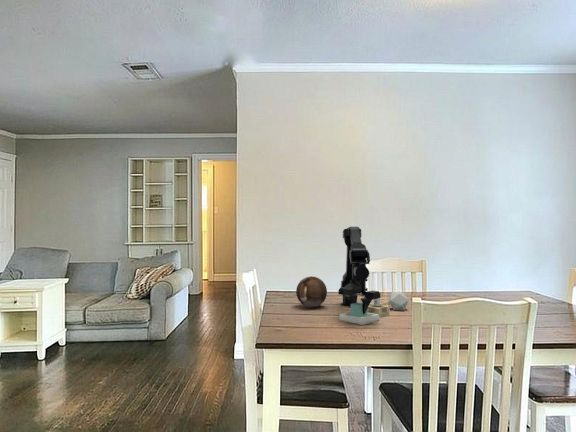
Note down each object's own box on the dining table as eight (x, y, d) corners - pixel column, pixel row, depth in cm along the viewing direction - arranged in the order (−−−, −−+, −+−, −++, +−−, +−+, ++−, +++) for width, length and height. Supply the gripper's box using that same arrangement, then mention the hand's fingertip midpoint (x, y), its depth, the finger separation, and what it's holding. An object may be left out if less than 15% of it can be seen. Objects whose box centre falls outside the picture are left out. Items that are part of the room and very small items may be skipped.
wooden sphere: (314, 303, 241) (314, 273, 240) (333, 307, 228) (333, 277, 228) (290, 306, 232) (290, 276, 232) (308, 311, 220) (307, 279, 220)
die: (404, 313, 217) (413, 295, 220) (386, 303, 218) (396, 285, 222) (399, 316, 225) (409, 298, 228) (383, 306, 226) (392, 289, 230)
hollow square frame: (364, 315, 212) (364, 306, 212) (374, 312, 217) (374, 303, 217) (378, 317, 206) (378, 308, 206) (389, 315, 211) (389, 306, 211)
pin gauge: (376, 314, 213) (376, 294, 213) (380, 315, 212) (380, 295, 211) (372, 315, 212) (372, 295, 212) (377, 316, 210) (377, 295, 210)
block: (350, 315, 201) (350, 303, 201) (358, 313, 205) (357, 302, 205) (360, 317, 198) (359, 305, 198) (367, 315, 201) (367, 303, 201)
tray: (339, 320, 202) (339, 314, 202) (356, 316, 210) (356, 310, 210) (361, 325, 193) (361, 319, 193) (379, 320, 201) (379, 314, 201)
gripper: (329, 276, 202) (330, 312, 203) (364, 280, 189) (365, 319, 189) (346, 273, 210) (346, 308, 210) (381, 278, 196) (381, 315, 197)
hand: (359, 313), depth 201 cm, fingers closed on block, 5 cm apart
